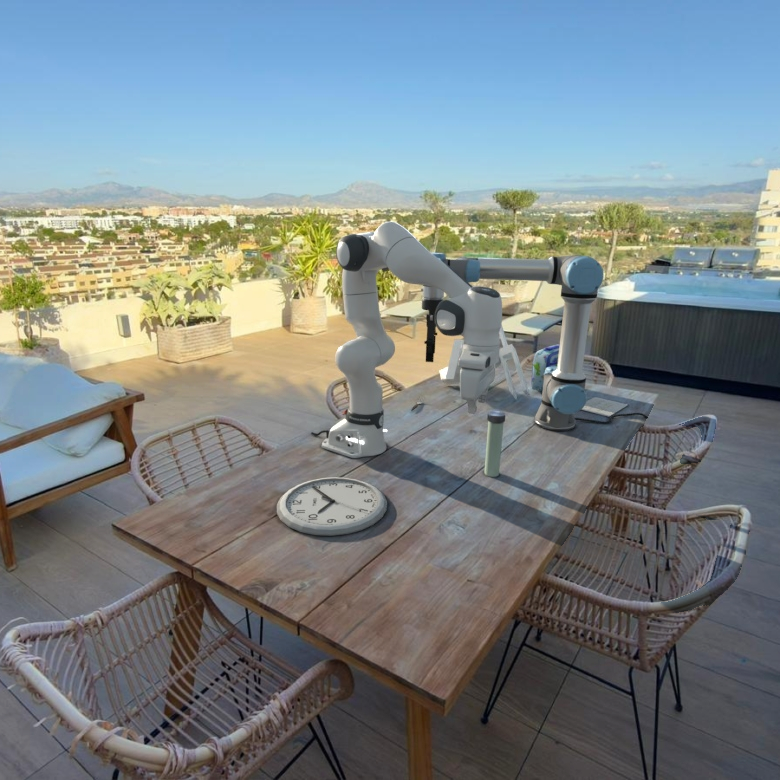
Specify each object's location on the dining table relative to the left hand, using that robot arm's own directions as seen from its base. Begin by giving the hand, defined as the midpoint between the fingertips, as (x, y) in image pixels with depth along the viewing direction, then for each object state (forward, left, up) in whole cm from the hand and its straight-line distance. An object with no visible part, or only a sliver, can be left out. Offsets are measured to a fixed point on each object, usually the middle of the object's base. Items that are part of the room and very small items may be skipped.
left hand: (477, 407), depth 133 cm
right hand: (-31, +50, -2) cm, 59 cm away
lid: (0, +24, -10) cm, 26 cm away
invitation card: (+27, +109, -29) cm, 116 cm away
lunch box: (+4, +126, -29) cm, 129 cm away
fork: (-44, +73, -29) cm, 90 cm away
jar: (0, +24, -29) cm, 38 cm away
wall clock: (-35, -14, -30) cm, 48 cm away
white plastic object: (-26, +105, -29) cm, 112 cm away
